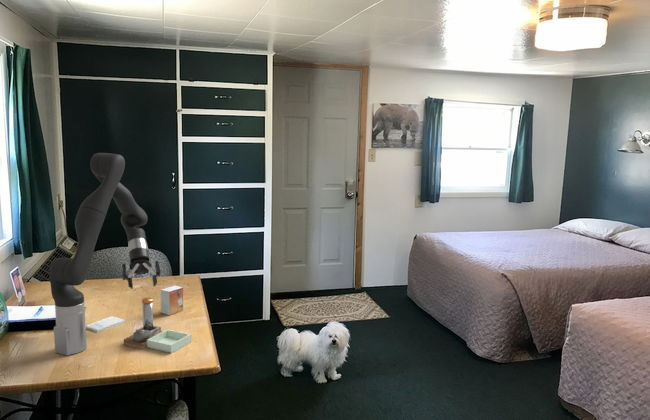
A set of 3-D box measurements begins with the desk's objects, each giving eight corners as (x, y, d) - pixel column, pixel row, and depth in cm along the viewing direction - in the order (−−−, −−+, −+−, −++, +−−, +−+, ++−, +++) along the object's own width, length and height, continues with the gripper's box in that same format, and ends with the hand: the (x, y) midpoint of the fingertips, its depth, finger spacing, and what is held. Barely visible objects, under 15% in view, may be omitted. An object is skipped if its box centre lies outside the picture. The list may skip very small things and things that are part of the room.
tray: (171, 353, 179) (171, 345, 179) (147, 347, 183) (146, 339, 183) (191, 341, 189) (191, 334, 189) (167, 336, 193) (167, 329, 193)
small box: (169, 315, 215) (168, 291, 214) (160, 313, 218) (159, 289, 217) (183, 310, 222) (183, 287, 221) (175, 307, 225) (174, 284, 223)
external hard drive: (124, 323, 207) (97, 333, 197) (111, 319, 211) (84, 329, 201) (124, 319, 207) (97, 329, 196) (111, 315, 211) (84, 325, 200)
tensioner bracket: (142, 349, 182) (142, 334, 181) (123, 344, 186) (123, 330, 185) (166, 336, 193) (165, 323, 192) (147, 332, 197) (147, 319, 196)
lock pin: (149, 335, 190) (147, 301, 188) (140, 333, 191) (139, 300, 189) (156, 331, 193) (155, 298, 191) (148, 329, 195) (147, 297, 193)
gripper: (120, 248, 202) (124, 284, 193) (157, 245, 208) (163, 279, 200) (119, 258, 207) (123, 293, 199) (155, 255, 214) (161, 289, 205)
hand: (143, 286), depth 199 cm, fingers open, 8 cm apart
